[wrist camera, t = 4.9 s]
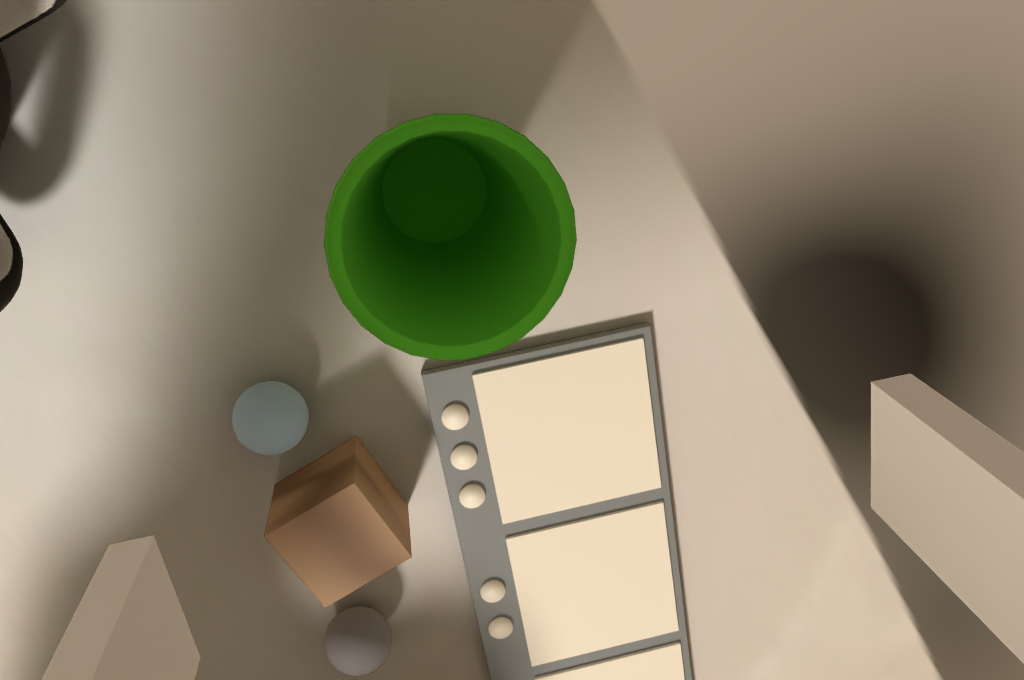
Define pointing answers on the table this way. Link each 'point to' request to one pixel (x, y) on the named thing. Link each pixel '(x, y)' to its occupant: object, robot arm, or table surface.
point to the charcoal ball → (358, 641)
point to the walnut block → (339, 522)
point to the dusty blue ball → (270, 418)
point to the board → (565, 508)
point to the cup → (450, 236)
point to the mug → (4, 12)
